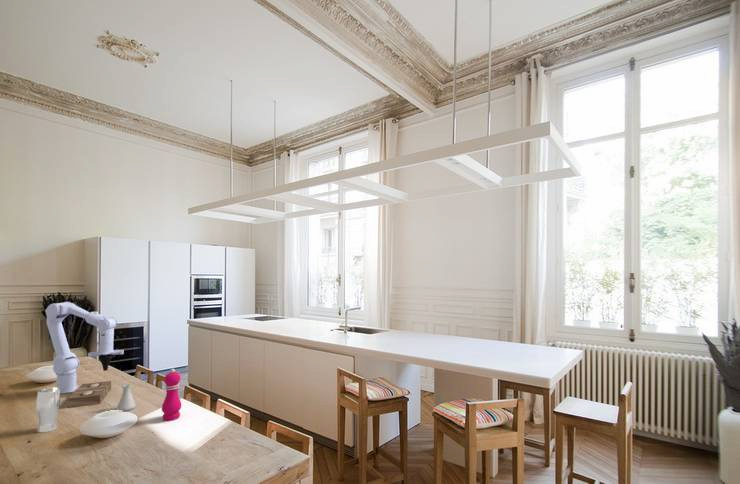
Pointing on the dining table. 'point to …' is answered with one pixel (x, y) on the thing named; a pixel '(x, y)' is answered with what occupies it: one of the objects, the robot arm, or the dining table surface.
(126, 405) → the flask
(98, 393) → the walnut block
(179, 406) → the pepper mill
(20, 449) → the dining table surface
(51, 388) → the beer glass
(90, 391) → the birch peg outer
